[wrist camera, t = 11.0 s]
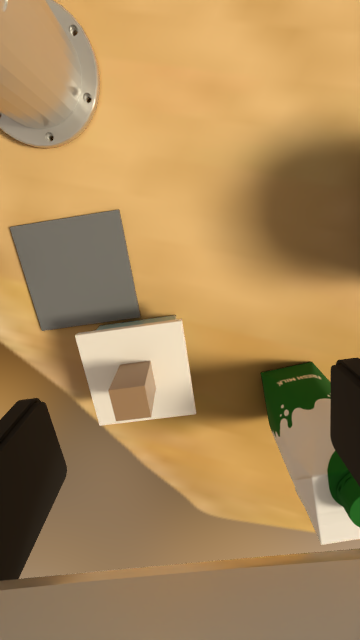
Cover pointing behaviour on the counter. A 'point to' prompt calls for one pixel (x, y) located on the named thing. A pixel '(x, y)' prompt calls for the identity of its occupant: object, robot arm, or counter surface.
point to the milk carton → (312, 450)
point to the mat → (77, 270)
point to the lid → (138, 372)
